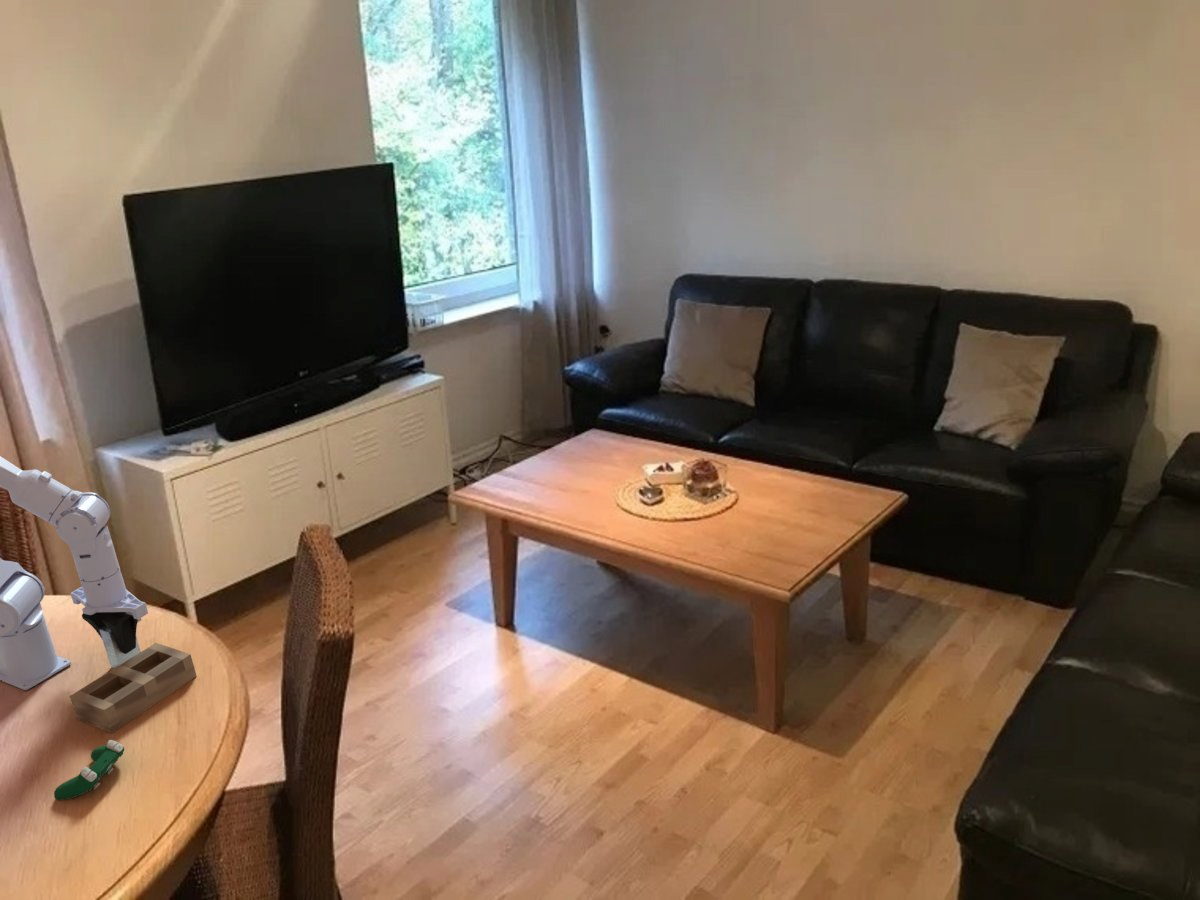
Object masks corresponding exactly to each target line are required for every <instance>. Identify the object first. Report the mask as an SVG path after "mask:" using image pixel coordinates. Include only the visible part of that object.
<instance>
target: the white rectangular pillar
mask: <svg viewBox="0 0 1200 900" xmlns="http://www.w3.org/2000/svg"><path fill="white" fill-rule="evenodd" d="M141 621H142V617H141V618H140V619H138V622H137V624H138V623H140V622H141ZM99 630H100V633H101V637H102V638H101V637H100V638H101V640H102V643H103V646H104V649H105V652H106V655H107V656H106V657H107V659H108V662H109V665H110V668H111V669H114V668H116V667H118V666H119V665H121V664H122V663H124V662H126V661H127V660H129V659H130V658H132V657H134V656H135V655H137V654H139V653H140V652H142V651H141V648H140V644H139V641H138V638H137V637H136V648H135V649H133V650H132V651H130V652H129V653H127V654H124V653H122V651H121V650H120V648H119V646H118V643H117V641H116V639H115V637H114V635H113V633H112V632H111V630H110V629H109V628H108V627H107V626H104V627H103V628H101V629H99Z"/></svg>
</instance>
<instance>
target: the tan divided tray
mask: <svg viewBox="0 0 1200 900" xmlns="http://www.w3.org/2000/svg"><path fill="white" fill-rule="evenodd" d="M194 665H195V664H194V662H193V659H192V655H191V653H188V652H185V651H181V650H179V649H176V648H172V647H170V646H167V645H164V644H161V643H158V642H155V643H154V644H151V645H150V646H149V647H146V648H145V649H144V650H142V651H141V652H140V653H139V654H137V655H135V656H134V657H132V658H130V659H129V660H127V661H126V662H124V663H122V664H121V665H119V666H118V667H116V668H112V669H111V670H110V671H108V672H106V673H105V674H103V675H101V676H100V677H98V678H97V679H95V680H93V681H91V682H90V683H88V684H86V686H83V687H82V688H80V689H79V690H77V691H76V692H74V693H72V694H70V695H69V699H70V702H71V705H72V708H73V711H74V714H75V717H76V719H77V720H78V721H81V722H83V723H85V724H88V725H89V726H90V725H91V726H93V727H96V728H98V729H100V730H102V731H105V732H108V733H110V734H113V733H114V732H116V731H118V730H119V729H121V728H122V727H124V726H125V725H126V724H128V723H129V722H131V721H132V720H134V719H135V718H137V717H138V716H139V715H141V714H143V713H145V712H146V711H148V710H149V709H151V708H152V707H153V706H155V705H157V704H158V703H159V702H161V701H162V700H164V699H165V698H168V696H170V695H171V694H173V693H174V692H176V691H177V690H179V689H180V688H182V687H183V686H185V685H186V684H188V683H189V682H191V681H192V680H193V679H195V678H196V677H197V673H196V670H195V666H194Z"/></svg>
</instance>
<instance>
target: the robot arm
mask: <svg viewBox="0 0 1200 900" xmlns="http://www.w3.org/2000/svg"><path fill="white" fill-rule="evenodd" d="M52 477H53V475H52V474H51V473H49V472H48V471H46V470H43V472H42V471H40V470H39V469H28V470H26V469H25V470H22V469H21V468H20V467H18V466H16V465H15V464H13V463H12V462H10V461H9V460H7V459H5V458H4V457H2V456H1V455H0V488H2V489H4V490H7V492H8V494H9V497H10V501H11V502H12V503H13V504H15V505H16V506H18V507H20V508H22V509H24V510H25V511H27V512H29V513H31V514H33V515H35V516H36V517H38V518H40V519H42V520H44V521H45V522H47V523H48V524H50V525H52V526H54V527H56V528H55V529H54V530H55V533H56V535H57V536H58V538H59V539H60V540H62V541H63V542H65V544H67V546H68V547H69V551H70V553H71V555H72V558H73V561H74V565H75V568H76V571H77V574H78V578H79V579H78V580H79V582H80V585H81V586H80V587H78V588H77V589H75V590H74V591H71V592H70V596H71V599H72V603H73V604H75V605H80V604H82V606H83V608H82V614H81V617H82V619H83V620H84V621H85V622H86V623H87V624H89V625H90V626H91V627H92V628H93V629H94V630H95V632H96V633H97V634H98V636H99V637H100V638H101V639H102V637H101V633H100V630H99V629H101V628H103V627H104V626H107V627H108V628H109V629H110V630H111V632H112V633H113V635H114V637H115V639H116V641H117V643H118V646H119V648H120V650H121V651H122V653H124V654H127V653H129V652H130V651H132V650H133V649H135V648H136V638H137V626H138V623H139V622H138V619H140V618H141V619H142V618H143V617H144V616H146V615H148V614H149V610H148V607H147V603H146V602H145V601H141V600H140V599H138V598H137V597H136V596H135V595H134V594H132V593H131V592H130V591H129V590H128V589H127V587H126V584H125V580H124V578H123V575H122V571H121V567H120V564H119V561H118V557H117V554H116V549H115V547H114V542H113V540H112V537H111V532H110V530H109V527H108V525H107V523H108V521H109V520H110V517H111V507H110V505H109V504H108V502H107V501H106V500H105V499H104V498H103V497H102V496H100V495H99V494H98V493H96V492H91V491H88V492H87V491H86V492H81V491H79V490H74V489H72V488H70V487H69V486H67V485H65V484H63V483H62V482H59V481H58V480H56V479H54V478H52ZM45 590H46V588H45V586H44V584H43V582H42V581H41V580H40V578H38V577H37V576H36V575H35V574H32V573H30V572H28V571H27V570H25V569H24V567H22V565H20V563H19V562H15V561H11V560H3V559H2V558H1V557H0V681H1V680H2V681H1V682H3V683H6V684H9V685H11V686H13V687H16V688H19V689H20V690H23V691H28V690H30V689H32V688H33V687H34V686H37V685H38V684H40V683H41V682H43V681H45V680H47V679H48V678H50V677H52V676H53V675H55V674H57V673H58V672H60V671H62V670H63V669H65V668H66V667H68V666H70V665H71V664H72V661H71V660H69V659H66V658H63V657H62V656H58V655H57V653H56V652H57V651H56V650H55V645H54V644H53V640H52V637H51V633H50V631H49V629H48V625H47V622H46V619H45V615H44V613H43V608H42V603H41V602H42V601H43V600H44V598H45V592H46V591H45ZM137 622H138V623H137Z"/></svg>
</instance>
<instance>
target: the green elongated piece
mask: <svg viewBox="0 0 1200 900" xmlns="http://www.w3.org/2000/svg"><path fill="white" fill-rule="evenodd" d="M124 753H125V748H124V746H123V744H121V743H119V742H117V741H116V740H113V739H109V740H108V741H107V744H106V745H100V746H98V747H97V746H96V747H95V748H94V749H93V750H92V751H91V753H90V758H91V759H92V761H93V764H92V765H91V766H90V767H87V766H82V768H81V771H80V773H79V774H78V775H76V776H75V777H72V778H70V779H69V780H67V781H64V782H62V783H61V784H59V785H58V786H57V787H56V788H55V790H54V794H53V795H54V800H68V799H73V798H76V797H78V796H81V795H83V794H86V793H87V792H90V791H91V790H92V789H93V790H96V789H97V788H98V787H99V786H100V785H101V783H100V780H101V778H102V777H103V776H104V775H110V774H111V773H112V771H114V767H113V765H114V764H116V763H117V761H118V760H119V758H121V757H122V756H123V755H124Z"/></svg>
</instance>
